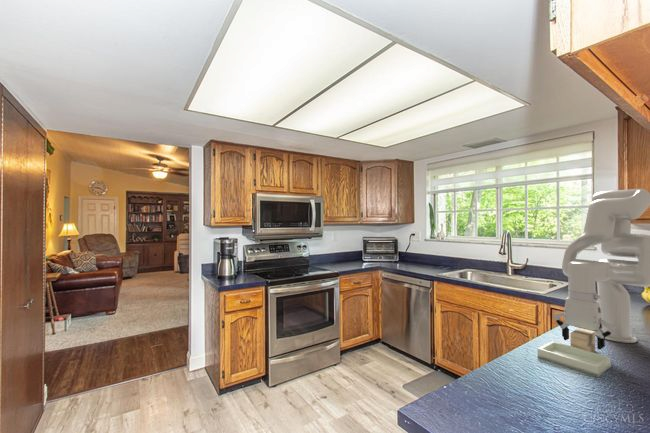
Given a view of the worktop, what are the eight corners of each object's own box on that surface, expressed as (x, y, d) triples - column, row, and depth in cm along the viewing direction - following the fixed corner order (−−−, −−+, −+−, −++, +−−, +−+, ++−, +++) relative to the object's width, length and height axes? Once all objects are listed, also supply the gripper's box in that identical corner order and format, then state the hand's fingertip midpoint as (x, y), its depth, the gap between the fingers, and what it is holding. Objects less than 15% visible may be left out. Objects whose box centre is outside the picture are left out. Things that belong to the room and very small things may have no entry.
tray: (552, 349, 110) (552, 340, 110) (610, 366, 96) (610, 357, 96) (537, 357, 103) (537, 348, 103) (598, 377, 90) (598, 367, 90)
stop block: (580, 346, 112) (579, 327, 112) (595, 351, 108) (595, 331, 108) (570, 352, 107) (570, 332, 107) (586, 357, 103) (586, 336, 104)
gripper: (617, 299, 103) (618, 350, 102) (557, 290, 117) (558, 334, 117) (610, 302, 99) (611, 355, 98) (549, 292, 113) (550, 338, 113)
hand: (582, 343), depth 108 cm, fingers open, 9 cm apart
